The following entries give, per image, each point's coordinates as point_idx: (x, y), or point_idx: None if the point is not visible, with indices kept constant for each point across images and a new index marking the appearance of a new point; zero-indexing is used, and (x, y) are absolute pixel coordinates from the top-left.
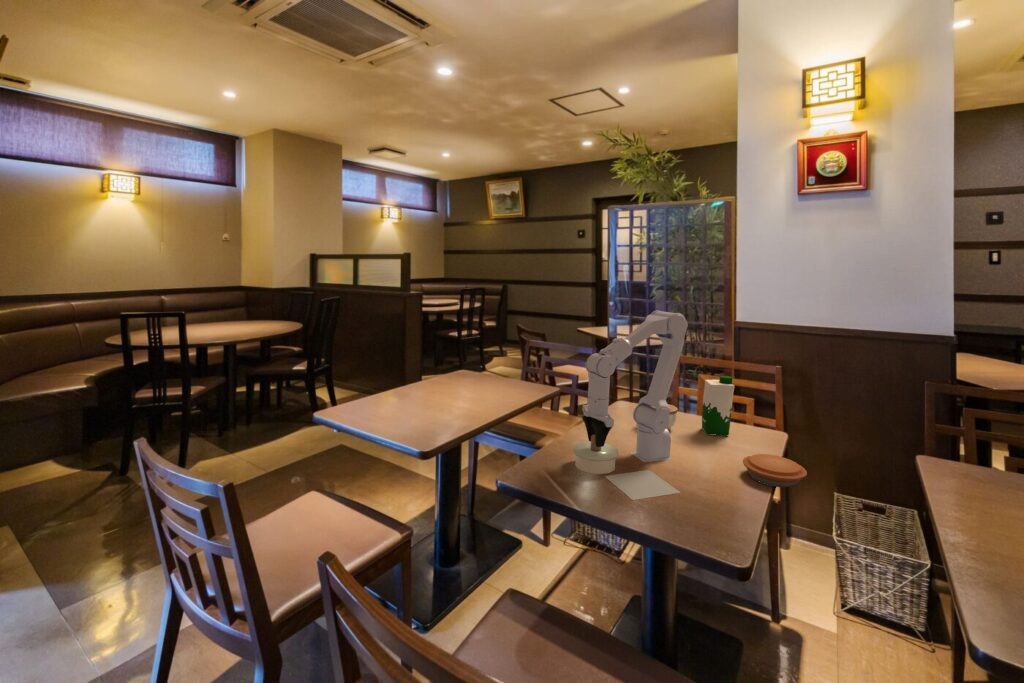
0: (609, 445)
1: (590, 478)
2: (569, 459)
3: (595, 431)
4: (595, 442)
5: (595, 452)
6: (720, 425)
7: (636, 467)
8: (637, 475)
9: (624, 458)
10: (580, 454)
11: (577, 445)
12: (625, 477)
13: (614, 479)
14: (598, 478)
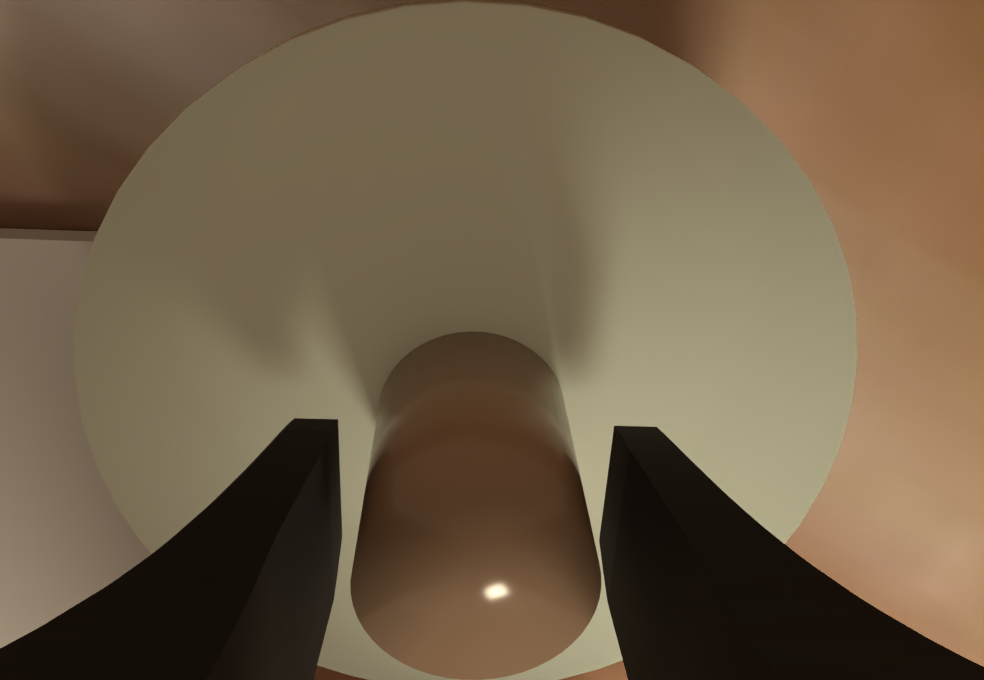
0: (553, 659)
1: (157, 51)
2: (842, 85)
3: (148, 618)
4: (323, 446)
5: (355, 350)
6: None
7: (332, 670)
8: (81, 584)
9: (573, 676)
10: (331, 26)
11: (775, 206)
12: (45, 452)
13: (4, 311)
14: (139, 159)
